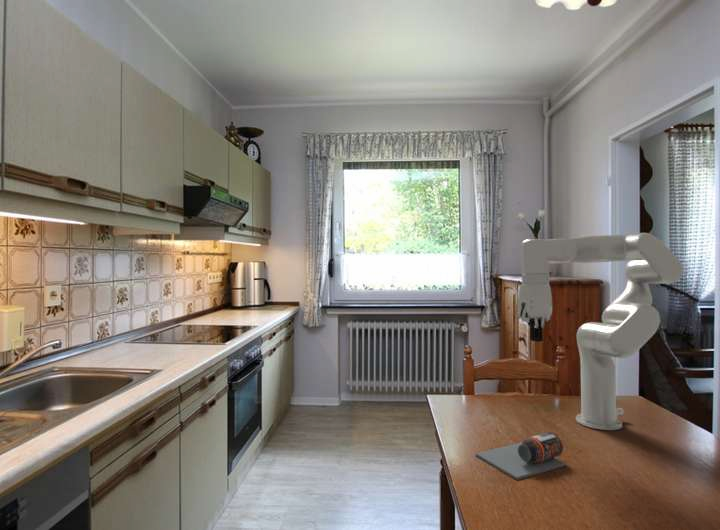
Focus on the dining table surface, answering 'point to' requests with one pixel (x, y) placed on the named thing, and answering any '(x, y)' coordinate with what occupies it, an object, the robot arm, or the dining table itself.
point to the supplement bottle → (540, 447)
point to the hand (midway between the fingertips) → (536, 340)
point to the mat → (516, 462)
